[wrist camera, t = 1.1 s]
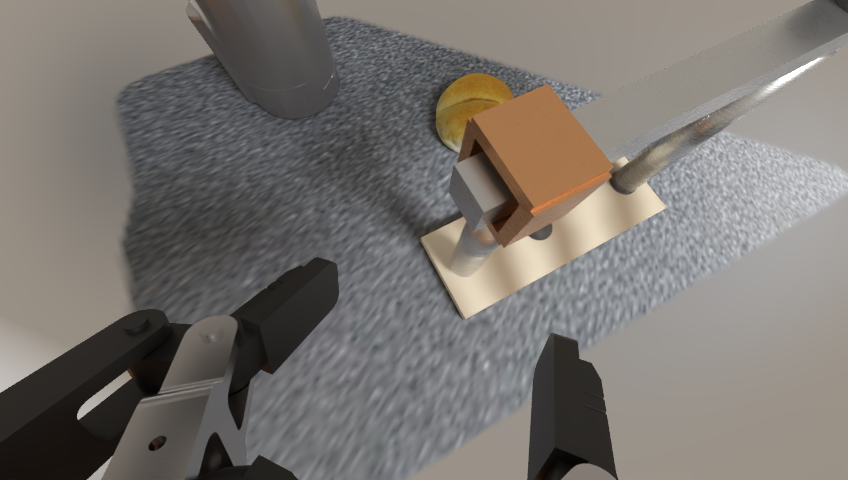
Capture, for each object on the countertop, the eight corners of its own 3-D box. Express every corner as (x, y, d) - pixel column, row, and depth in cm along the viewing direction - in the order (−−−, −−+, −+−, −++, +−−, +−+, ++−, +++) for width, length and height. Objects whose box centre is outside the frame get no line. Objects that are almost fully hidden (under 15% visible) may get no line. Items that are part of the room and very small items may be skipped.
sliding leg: (459, 294, 25) (537, 212, 9) (436, 253, 27) (469, 111, 10) (489, 277, 26) (618, 171, 9) (466, 237, 27) (544, 79, 10)
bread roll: (512, 93, 34) (524, 63, 30) (509, 162, 32) (522, 138, 28) (439, 85, 34) (442, 54, 31) (430, 153, 32) (432, 128, 28)
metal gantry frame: (446, 295, 26) (511, 201, 8) (428, 263, 27) (451, 110, 9) (646, 189, 29) (1005, -44, 11) (625, 163, 30) (929, -92, 12)
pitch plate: (463, 319, 26) (465, 318, 25) (420, 241, 28) (420, 237, 27) (657, 212, 30) (667, 207, 29) (606, 149, 32) (614, 142, 31)
